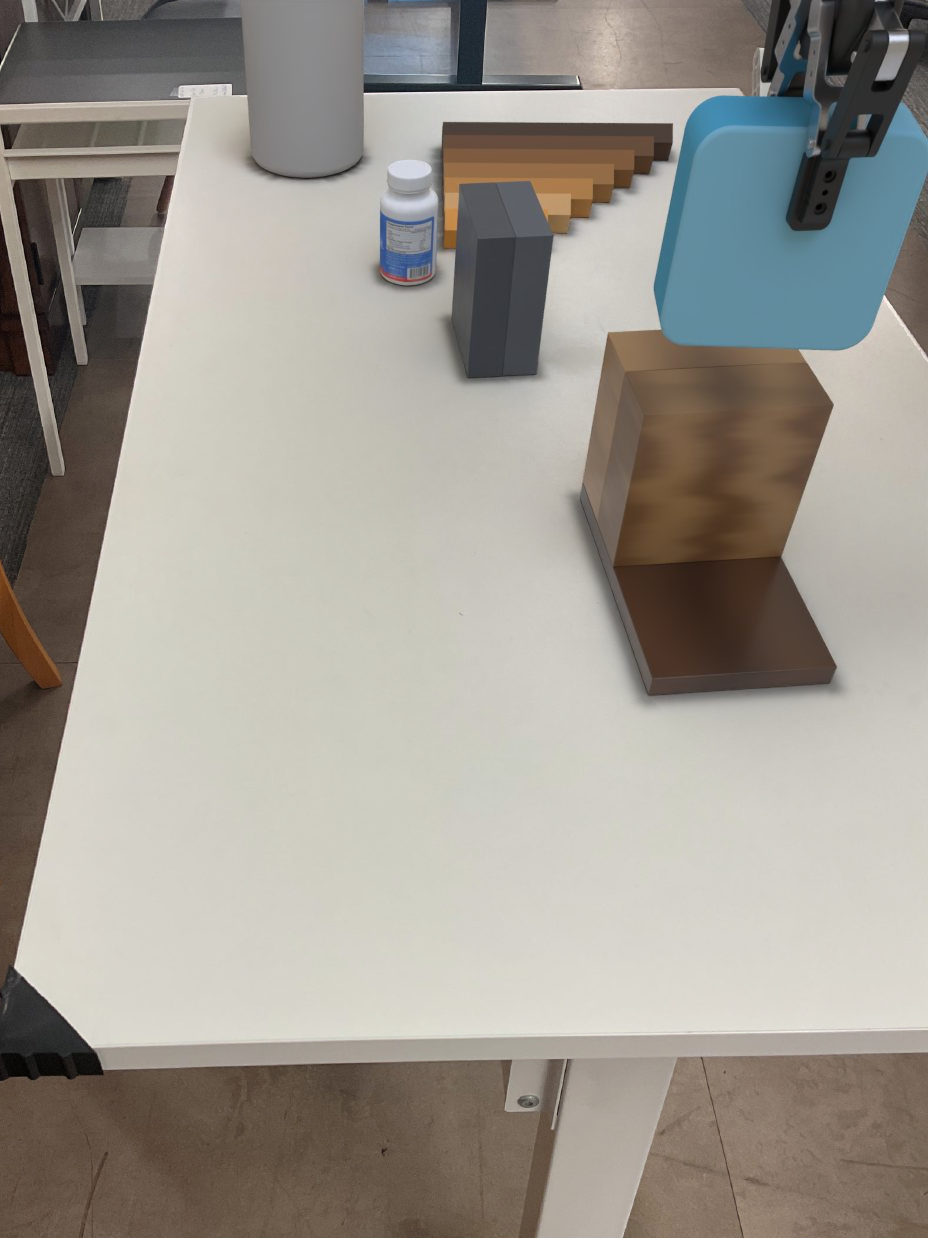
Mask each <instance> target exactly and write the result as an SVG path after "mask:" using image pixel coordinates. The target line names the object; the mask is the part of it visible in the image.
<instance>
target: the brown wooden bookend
mask: <svg viewBox="0 0 928 1238" xmlns="http://www.w3.org/2000/svg"><path fill="white" fill-rule="evenodd" d="M601 365H602V366H601V371H600V377H599V383H598V388H597V394H596V400H595V405H594V412H593V418H592V424H591V428H590V429H591V430H590V435H589V440H588V441H589V442H588V447H587V454H586V459H585V465H584V471H583V477H582V482H581V489H580V494H579V499H580V502H581V505H582V508H583V511H584V514H585V516H586V519H587V522H588V526H589V529H590V531H591V534H592V537H593V539H594V542H595V545H596V548H597V551H598V553H599V557H600V560H601V563H602V565H603V568H604V571H605V574H606V577H607V581H608V582H609V586H610V588H611V591H612V594H613V597H614V601H615V603H616V605H617V606H616V607H617V609H618V612H619V614H620V617H621V620H622V623H623V626H624V629H625V632H626V635H627V637H628V640H629V643H630V647H631V649H632V651H633V655H634V657H635V660H636V663H637V666H638V670H639V672H640V676H641V678H642V680H643V683H644V686H645V689H646V692H647V695H648V696H656V695H658V696H659V695H671V694H686V693H687V694H688V693H701V692H702V693H703V692H717V691H733V690H746V689H760V688H762V689H763V688H775V687H778V688H779V687H793V686H805V685H806V686H808V685H821V684H824V685H825V684H831V683H832V680H833V678H834V675H835V673H836V671H837V669H838V666H837V664H836V662H835V659H834V657H833V656H832V654H831V652H830V650H829V648H828V645H827V644H826V642H825V640H824V638H823V636H822V635H821V632H820V630H819V628H818V626H817V624H816V622H815V620H814V617H812V615H811V612H810V611H809V608H808V607H807V605H806V603H805V601H804V599H803V597H802V595H801V592H800V591H799V589H798V587H797V585H796V583H795V581H794V579H793V577H792V575H791V573H790V571H789V569H788V567H787V565H786V563H785V561H784V559H783V553H784V550H785V548H786V545H787V542H788V539H789V536H790V534H791V530H792V527H793V525H794V522H795V519H796V516H797V513H798V511H799V507H800V505H801V502H802V499H803V496H804V493H805V490H806V487H807V484H808V482H809V478H810V476H811V472H812V470H813V467H814V464H815V461H816V458H817V456H818V452H819V449H820V446H821V444H822V441H823V438H824V435H825V432H826V430H827V426H828V423H829V421H830V418H831V415H832V412H833V409H834V406H835V405H834V404H835V403H834V402H833V400H832V399H831V398H830V396H829V395H828V393H827V391H826V390H825V388H824V386H823V385H822V383H821V382H820V380H819V379H818V377H817V376H816V374H815V373H814V371H813V370H812V368H811V366H810V365H809V363H808V362H807V360H806V359H805V357H804V355H803V354H802V352H801V351H800V349H772V348H742V347H713V346H684V345H678V344H675V343H673V342H671V341H670V340H668V339H667V338H666V337H665V335H664V334H663V332H662V330H661V329H644V330H625V331H608V332H607V334H606V341H605V346H604V353H603V359H602V364H601Z"/></svg>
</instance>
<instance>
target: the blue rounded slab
mask: <svg viewBox="0 0 928 1238" xmlns="http://www.w3.org/2000/svg"><path fill="white" fill-rule="evenodd" d="M836 104H837V102H835V103H833V104H832V105H831V107H830V111H829V117H828V124H829V122H830V119H831V117H832V114H833V111H834V109H835V106H836ZM810 112H811V107H810V105H809V104H808V103H806V102H805V100H804V98H803V97H767V95H766V96H765V95H764V96H761V95H724V94H723V95H715V96H712V97H709V98H707V99H705V100H704V101H702V102H701V103H700V104H698V105H697V106H696V107H695V108H694V109H693V110H692V112H691V113H690V114H689V116H688V118H687V120H686V123H685V126H684V130H683V135H682V141H681V146H680V150H679V155H678V161H677V165H676V171H675V176H674V180H673V186H672V191H671V196H670V201H669V206H668V211H667V215H666V219H665V220H666V221H665V225H664V230H663V236H662V241H661V246H660V252H659V257H658V261H657V266H656V271H655V276H654V282H653V295H654V299H655V305H656V310H657V311H656V312H657V316H658V321H659V325H660V330H662V332H663V334H664V335H665V337H666V338H667V339H668V340H670V341H671V342H673V343H675V344H678V345H684V346H713V347H742V348H772V349H799V350H802V351H804V350H805V351H831V352H835V351H837V352H838V351H844V350H848V349H851V348H853V347H855V346H857V345H859V343H861V342H862V341H863V340H864V339H866V337H867V336H868V335H869V334H870V332H871V331H872V329H873V327H874V324H875V322H876V318H877V317H878V314H879V311H880V307H881V305H882V302H883V299H884V296H885V294H886V291H887V288H888V285H889V283H890V279H891V276H892V274H893V271H894V268H895V265H896V263H897V260H898V257H899V254H900V252H901V249H902V246H903V243H904V240H905V238H906V234H907V232H908V230H909V227H910V224H911V220H912V218H913V215H914V213H915V209H916V207H917V204H918V201H919V198H920V196H921V193H922V189H923V187H924V184H925V181H926V178H927V176H928V137H927V136H926V134H925V133H924V130H923V129H922V127H921V125H920V124H919V123H918V121H917V119H916V118H915V116H914V114H913V113H912V111H911V110H910V109H909V107H908V106H907V105H906V104H905V103H903V102H900V104H899V106H898V108H897V111H896V113H895V115H894V117H893V120H892V122H891V124H890V126H889V129H888V131H887V133H886V135H885V138H884V140H883V142H882V144H881V147H880V149H879V151H878V153H877V155H876V156H875V157H863V158H851V159H850V160H849V164H848V167H847V170H846V174H845V177H844V180H843V183H842V187H841V190H840V193H839V196H838V200H837V203H836V206H835V210H834V213H833V216H832V219H831V222H830V224H829V225H828V226H827V227H826V228H825V229H823V230H814V231H793V230H792V229H791V228H790V226H789V225H788V224H787V222H786V215H787V211H788V207H789V204H790V200H791V196H792V193H793V189H794V185H795V182H796V178H797V175H798V171H799V167H800V164H801V160H802V156H803V153H804V152H806V150H805V148H806V139H807V132H808V125H809V118H810ZM871 115H872V114H868V116H867V122H866V127H867V124H868V122H869V120H870V117H871ZM828 124H827V127H828ZM865 129H866V128H865Z"/></svg>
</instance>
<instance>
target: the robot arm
mask: <svg viewBox="0 0 928 1238" xmlns="http://www.w3.org/2000/svg"><path fill="white" fill-rule="evenodd" d="M904 3H905V0H771V3H770V10H769V15H768V21H767V29H766V34H765V41H764V47H763V54H762V60H761V66H760V72H759V74H760V77H759V78H760V82H761V83H762V84H770V85H769V87H768V90H767V94H766V96H767V97H803V98H804V100H805V102H806V103H808V104H809V105H810V107H811V112H810V118H809V125H808V132H807V139H806V148H805V150H806V152H804V153H803V156H802V160H801V164H800V167H799V171H798V175H797V178H796V182H795V185H794V189H793V193H792V196H791V200H790V204H789V207H788V211H787V215H786V222H787V224H788V225H789V226H790V228H791V229H792V230H793V231H814V230H823V229H825V228H826V227H827V226H828V225H829V224H830V222H831V219H832V216H833V213H834V210H835V206H836V203H837V200H838V196H839V193H840V190H841V187H842V183H843V180H844V177H845V174H846V170H847V167H848V164H849V160H850V159H851V158H863V157H875V156H876V155H877V153H878V151H879V149H880V147H881V144H882V142H883V140H884V138H885V135H886V133H887V131H888V129H889V126H890V124H891V122H892V120H893V117H894V115H895V113H896V111H897V108H898V106H899V104H900V102H901V101H902V99H903V98H904V95H905V93H906V90H907V88H908V86H909V84H910V82H911V79H912V77H913V75H914V74H915V73H914V72H915V70H916V68H917V66H918V64H919V61H920V60H921V58H922V57H921V56H922V55H923V52H924V49H925V47H926V40H927V35H926V34H927V33H926V30H925V29H924V28H904V26H903V24H902V22H901V19H900V16H901V13H902V10H903V8H904ZM833 76H834V77H835V76H836V77H837V76H846V79H845V81H844V84H832V83H830V82H829V81H828V80H829V78H830V77H833ZM835 102H837V104H836V106H835V109H834V111H833V114H832V117H831V119H830V122H829V124H828V117H829V111H830V107H831V105H832V104H833V103H835ZM868 114H872V115H871V117H870V120H869V122H868V124H867V127H866V122H867V116H868ZM827 124H828V127H827ZM865 128H866V129H865Z"/></svg>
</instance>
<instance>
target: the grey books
mask: <svg viewBox="0 0 928 1238" xmlns="http://www.w3.org/2000/svg"><path fill="white" fill-rule="evenodd" d="M554 237H555V236H554V233H552V231H551V228H550V226H549V224H548V221H547V219H546V217H545V214H544V212H543V210H542V207H541V205H540V202H539V200H538V198H537V195H536V193H535V191H534V188H533V186H532V184H531V181H514V182H490V183H467V184H459V200H458V217H457V234H456V248H455V251H454V253H455V254H454V270H453V271H454V272H453V285H452V286H453V288H452V302H451V303H452V304H451V322H452V327H453V329H454V334H455V337H456V341H457V344H458V349H459V352H460V356H461V359H462V362H463V366H464V370H465V373H466V377H467V379H473V378H475V379H476V378H492V377H507V376H508V377H510V376H526V375H537V374H538V365H539V358H540V350H541V343H542V333H543V324H544V318H545V317H544V316H545V309H546V299H547V292H548V285H549V277H550V269H551V259H552V252H553V251H552V250H553V243H554Z"/></svg>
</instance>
